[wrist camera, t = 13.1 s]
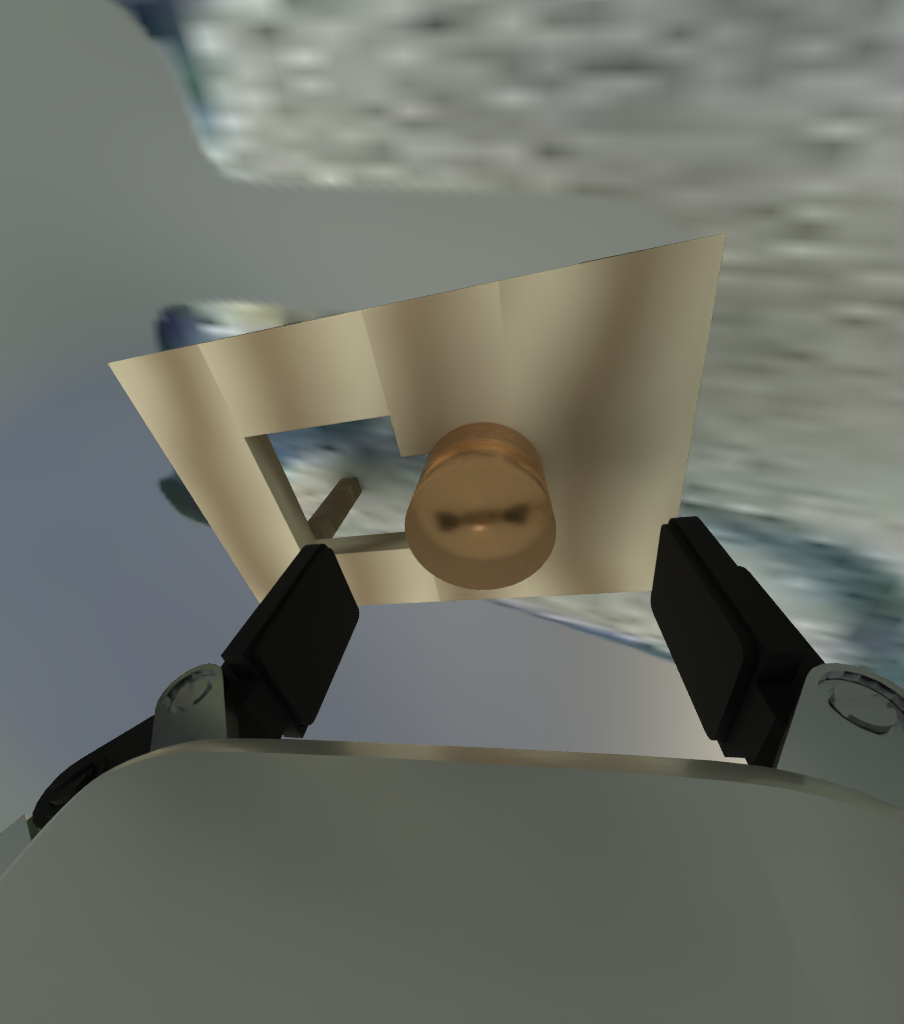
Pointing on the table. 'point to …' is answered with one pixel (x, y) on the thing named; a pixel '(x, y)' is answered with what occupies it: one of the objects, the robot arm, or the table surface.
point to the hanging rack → (456, 414)
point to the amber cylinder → (482, 509)
